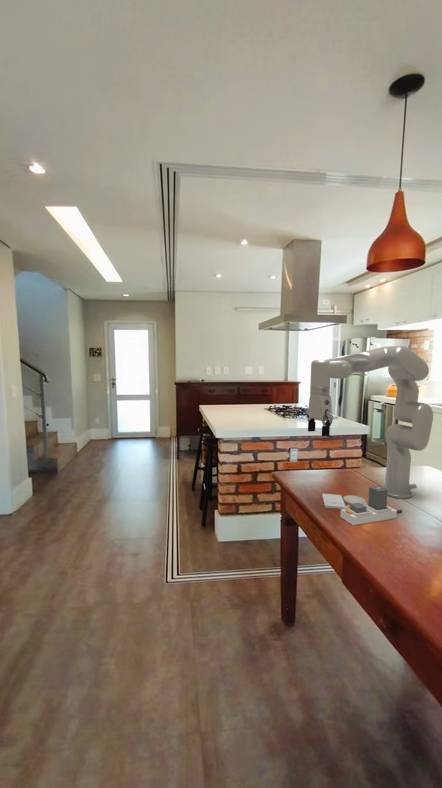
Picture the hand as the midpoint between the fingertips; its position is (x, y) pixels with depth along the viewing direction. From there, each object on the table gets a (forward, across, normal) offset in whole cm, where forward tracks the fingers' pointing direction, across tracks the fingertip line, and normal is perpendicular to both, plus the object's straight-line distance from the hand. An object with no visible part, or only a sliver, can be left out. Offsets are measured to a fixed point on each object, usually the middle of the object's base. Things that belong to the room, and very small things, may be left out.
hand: (318, 433), depth 135 cm
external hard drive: (+31, +1, -10) cm, 33 cm away
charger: (+27, -14, -18) cm, 36 cm away
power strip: (+30, -15, -17) cm, 37 cm away
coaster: (+30, 0, -20) cm, 36 cm away
